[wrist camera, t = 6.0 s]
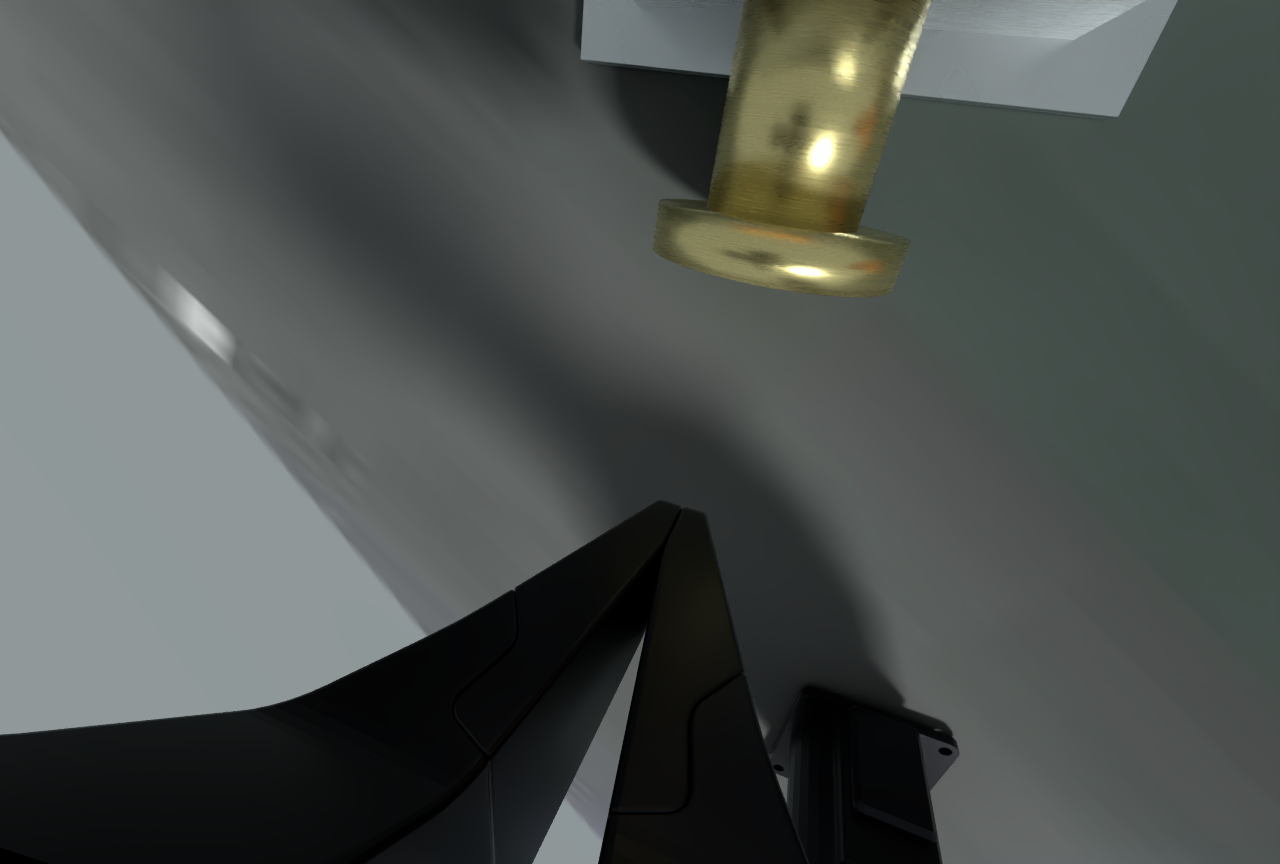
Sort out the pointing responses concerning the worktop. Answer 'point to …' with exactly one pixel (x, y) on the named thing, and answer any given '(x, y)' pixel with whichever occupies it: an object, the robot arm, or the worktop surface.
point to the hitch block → (924, 48)
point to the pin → (802, 150)
